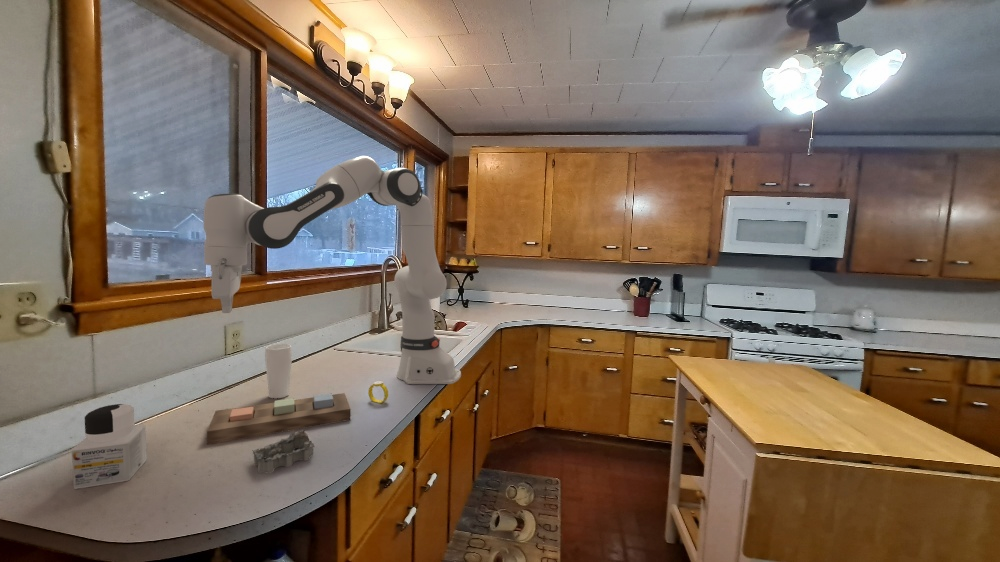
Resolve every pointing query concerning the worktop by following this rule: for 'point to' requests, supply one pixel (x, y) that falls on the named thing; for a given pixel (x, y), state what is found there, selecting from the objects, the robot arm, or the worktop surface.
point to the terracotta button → (242, 414)
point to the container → (109, 447)
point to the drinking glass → (278, 369)
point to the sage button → (284, 406)
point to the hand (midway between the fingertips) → (227, 312)
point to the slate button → (323, 401)
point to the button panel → (276, 419)
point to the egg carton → (284, 445)
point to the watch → (380, 383)
